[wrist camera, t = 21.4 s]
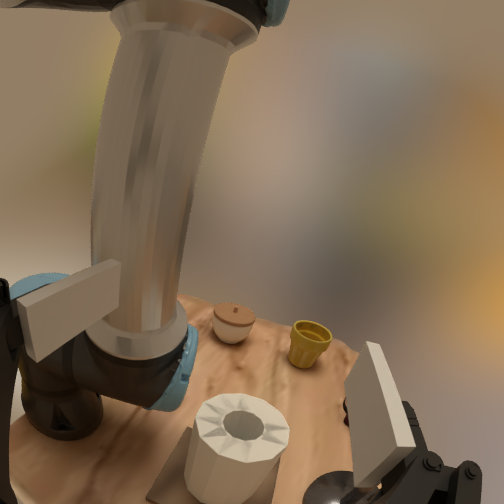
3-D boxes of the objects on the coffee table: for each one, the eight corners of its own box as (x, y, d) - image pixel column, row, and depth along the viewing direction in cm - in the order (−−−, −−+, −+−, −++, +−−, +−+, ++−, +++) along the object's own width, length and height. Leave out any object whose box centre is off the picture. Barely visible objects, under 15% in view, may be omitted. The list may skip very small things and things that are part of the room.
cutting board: (146, 499, 22) (145, 497, 22) (186, 430, 38) (187, 426, 37) (261, 536, 20) (264, 535, 20) (278, 459, 35) (280, 455, 35)
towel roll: (174, 492, 24) (181, 440, 21) (198, 446, 34) (213, 383, 30) (246, 515, 23) (283, 471, 19) (259, 465, 32) (292, 407, 29)
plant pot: (326, 368, 66) (340, 337, 63) (298, 377, 60) (313, 344, 57) (302, 347, 74) (313, 318, 72) (274, 353, 68) (285, 321, 66)
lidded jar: (215, 322, 76) (222, 293, 74) (251, 333, 75) (260, 304, 73) (203, 340, 66) (209, 308, 64) (244, 353, 65) (253, 322, 62)
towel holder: (297, 536, 20) (343, 506, 17) (306, 468, 34) (340, 423, 31) (382, 535, 18) (438, 499, 15) (377, 475, 32) (418, 431, 29)
